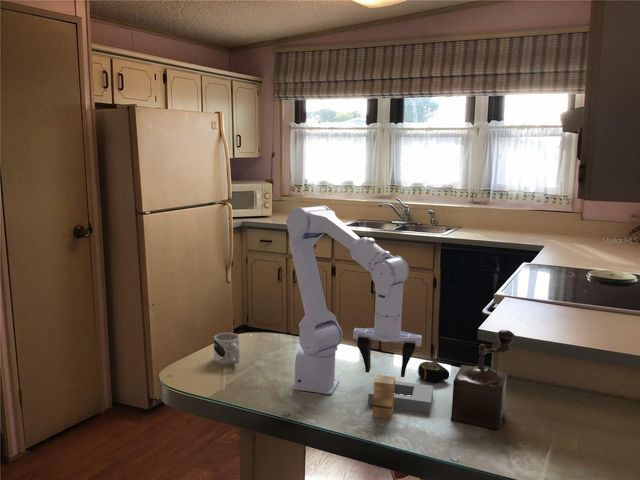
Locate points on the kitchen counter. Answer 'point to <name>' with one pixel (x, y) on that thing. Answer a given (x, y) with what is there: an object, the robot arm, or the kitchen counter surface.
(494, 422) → the manual coffee grinder
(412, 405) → the hole board
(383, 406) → the oak peg
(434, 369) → the tape measure
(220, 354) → the mug
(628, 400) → the kitchen counter surface
